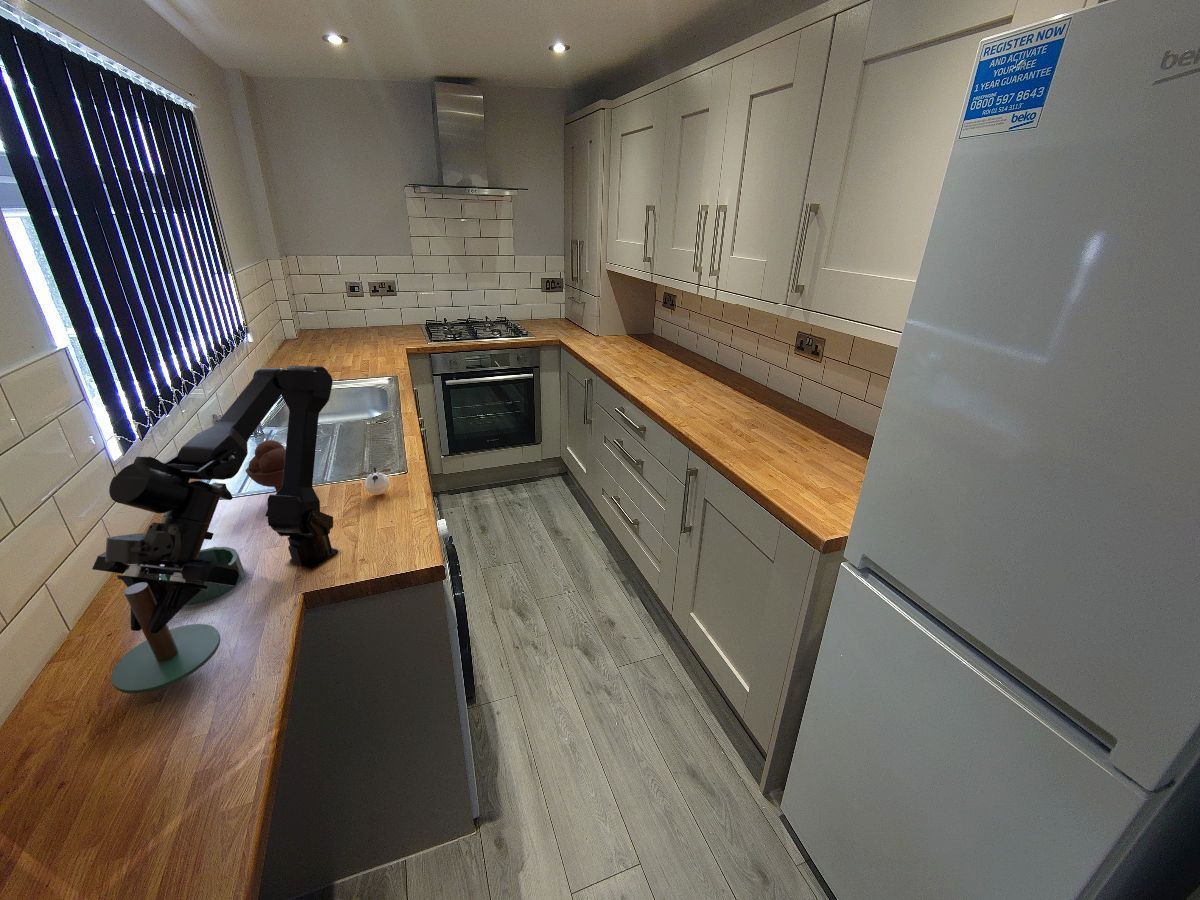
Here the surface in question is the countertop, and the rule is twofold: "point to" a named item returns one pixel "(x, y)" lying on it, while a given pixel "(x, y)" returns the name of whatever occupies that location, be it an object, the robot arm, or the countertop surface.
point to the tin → (214, 589)
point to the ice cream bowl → (268, 464)
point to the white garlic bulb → (376, 482)
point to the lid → (161, 649)
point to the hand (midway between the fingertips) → (144, 631)
